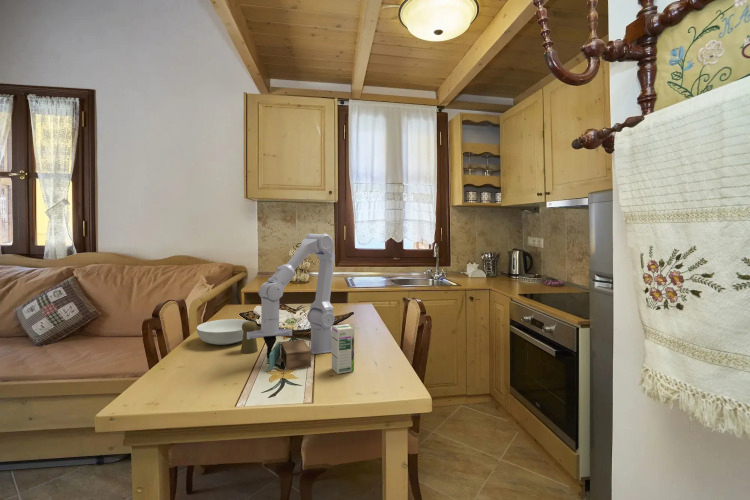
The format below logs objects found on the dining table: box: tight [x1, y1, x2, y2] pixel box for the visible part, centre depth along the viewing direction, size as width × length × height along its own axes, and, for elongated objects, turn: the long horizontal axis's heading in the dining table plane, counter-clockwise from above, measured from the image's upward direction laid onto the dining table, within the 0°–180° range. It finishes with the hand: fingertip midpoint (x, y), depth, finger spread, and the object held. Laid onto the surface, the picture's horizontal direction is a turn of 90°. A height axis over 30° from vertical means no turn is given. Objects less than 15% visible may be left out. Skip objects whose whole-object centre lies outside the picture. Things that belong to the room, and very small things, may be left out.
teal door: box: [266, 341, 282, 371], centre depth 122 cm, size 2×13×5 cm, turn 4°
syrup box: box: [331, 323, 355, 375], centre depth 117 cm, size 6×6×14 cm
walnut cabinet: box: [280, 339, 312, 371], centre depth 124 cm, size 8×13×6 cm, turn 23°
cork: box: [240, 320, 258, 355], centre depth 133 cm, size 6×6×11 cm
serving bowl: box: [196, 318, 249, 346], centre depth 144 cm, size 21×21×7 cm
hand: (269, 358), depth 121 cm, fingers closed
